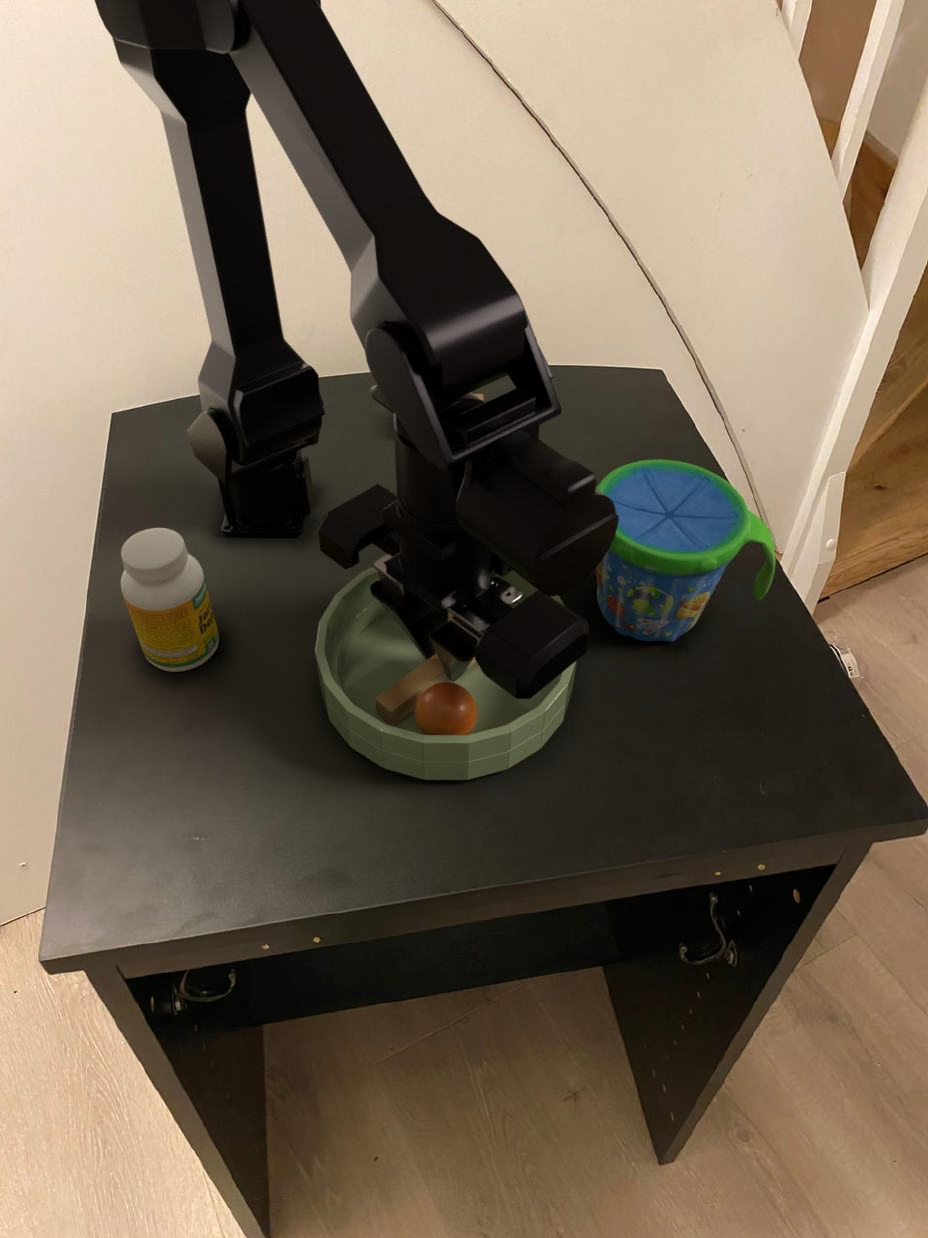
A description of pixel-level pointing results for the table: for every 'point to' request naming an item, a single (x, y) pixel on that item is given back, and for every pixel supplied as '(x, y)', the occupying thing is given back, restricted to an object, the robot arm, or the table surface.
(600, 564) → the snack cup
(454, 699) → the ball tangerine
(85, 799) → the table surface
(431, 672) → the wooden bar
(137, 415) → the table surface
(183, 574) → the supplement bottle
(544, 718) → the bowl
